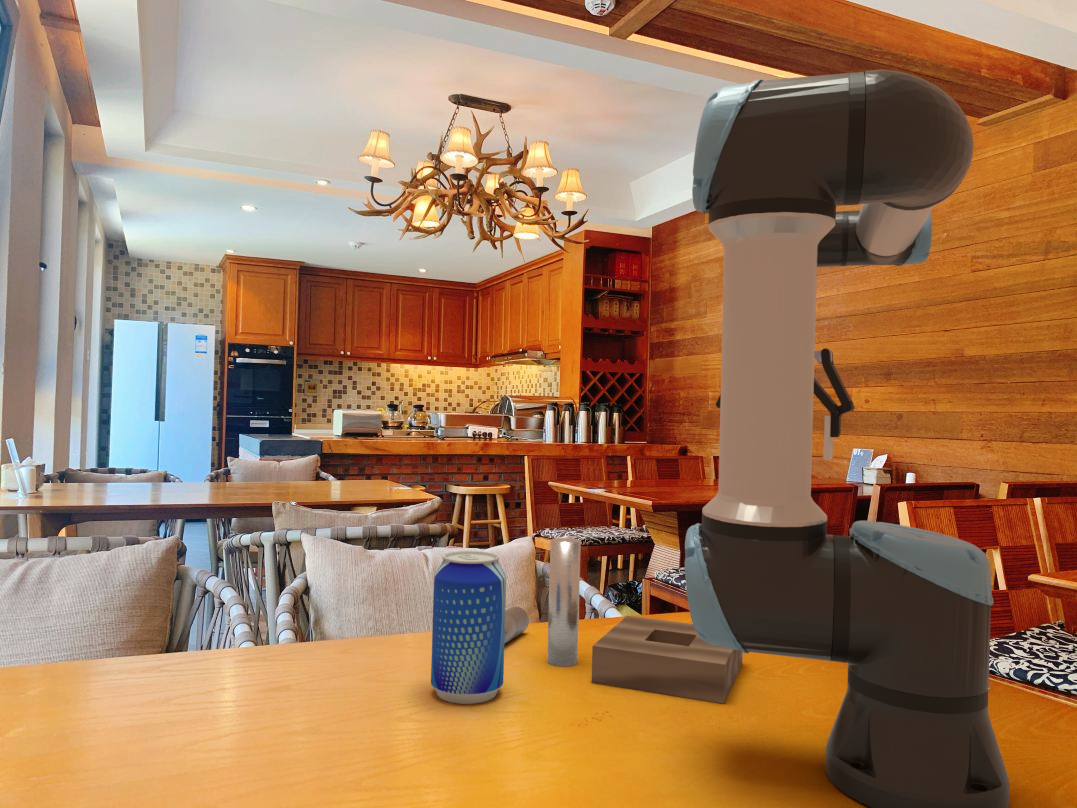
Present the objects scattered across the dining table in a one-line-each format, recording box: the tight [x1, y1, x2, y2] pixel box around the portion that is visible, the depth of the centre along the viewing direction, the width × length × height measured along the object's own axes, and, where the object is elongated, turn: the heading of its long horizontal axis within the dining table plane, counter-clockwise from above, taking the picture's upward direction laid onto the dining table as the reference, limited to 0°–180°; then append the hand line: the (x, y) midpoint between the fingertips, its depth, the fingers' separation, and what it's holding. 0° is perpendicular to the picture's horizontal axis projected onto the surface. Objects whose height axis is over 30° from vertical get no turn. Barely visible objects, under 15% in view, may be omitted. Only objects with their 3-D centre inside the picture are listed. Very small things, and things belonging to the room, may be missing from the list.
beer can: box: [430, 550, 507, 705], centre depth 93 cm, size 8×8×16 cm
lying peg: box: [504, 605, 530, 645], centre depth 114 cm, size 12×4×4 cm, turn 158°
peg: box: [546, 537, 582, 667], centre depth 106 cm, size 4×4×16 cm
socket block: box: [591, 615, 744, 705], centre depth 103 cm, size 16×16×4 cm
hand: (781, 457), depth 122 cm, fingers open, 13 cm apart
